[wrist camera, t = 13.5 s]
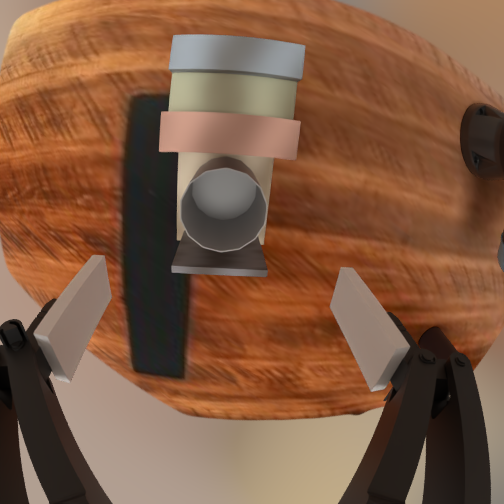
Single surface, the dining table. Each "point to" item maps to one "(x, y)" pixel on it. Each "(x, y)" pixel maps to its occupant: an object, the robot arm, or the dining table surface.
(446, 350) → the bottle
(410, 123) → the dining table surface
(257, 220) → the cup
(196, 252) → the pastel book stand
